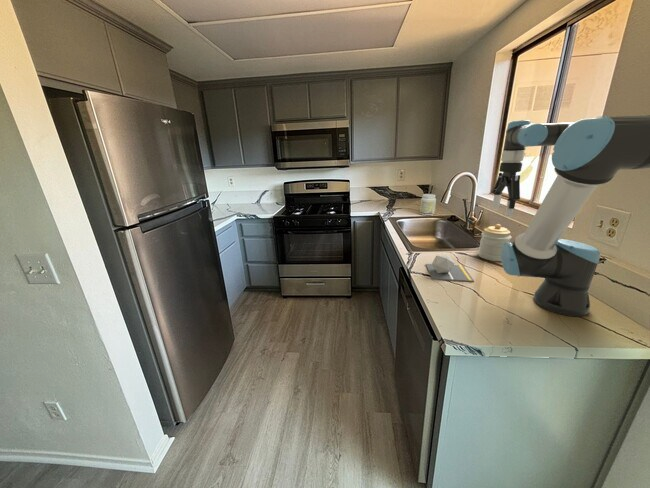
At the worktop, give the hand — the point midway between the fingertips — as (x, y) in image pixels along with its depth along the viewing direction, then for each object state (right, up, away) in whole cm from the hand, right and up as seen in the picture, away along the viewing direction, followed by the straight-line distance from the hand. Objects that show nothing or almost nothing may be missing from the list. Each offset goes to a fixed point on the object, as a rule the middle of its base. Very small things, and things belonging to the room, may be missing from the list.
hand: (501, 212), depth 117 cm
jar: (+9, -21, +22) cm, 31 cm away
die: (-24, -27, +5) cm, 36 cm away
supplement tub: (+11, +11, +113) cm, 114 cm away
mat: (-21, -27, +5) cm, 35 cm away
